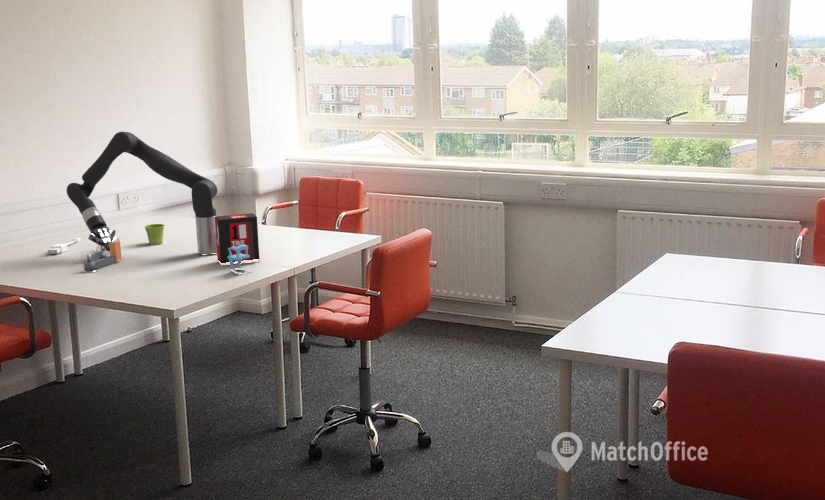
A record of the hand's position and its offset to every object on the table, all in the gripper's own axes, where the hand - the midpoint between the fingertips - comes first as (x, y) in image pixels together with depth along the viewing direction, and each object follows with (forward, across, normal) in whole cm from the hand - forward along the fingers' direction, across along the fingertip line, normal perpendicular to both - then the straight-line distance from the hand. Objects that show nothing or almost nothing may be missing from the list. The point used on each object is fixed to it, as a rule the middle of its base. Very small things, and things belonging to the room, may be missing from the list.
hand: (110, 250), depth 395 cm
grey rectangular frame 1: (+8, -10, -1) cm, 12 cm away
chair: (+48, +23, -40) cm, 66 cm away
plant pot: (-7, +32, +14) cm, 35 cm away
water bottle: (-16, +14, +18) cm, 28 cm away
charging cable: (-26, 0, +33) cm, 42 cm away
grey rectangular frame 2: (+6, -4, 0) cm, 8 cm away
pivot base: (+10, -16, -4) cm, 19 cm away
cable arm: (+8, -8, -2) cm, 12 cm away
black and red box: (+37, +34, -29) cm, 58 cm away
